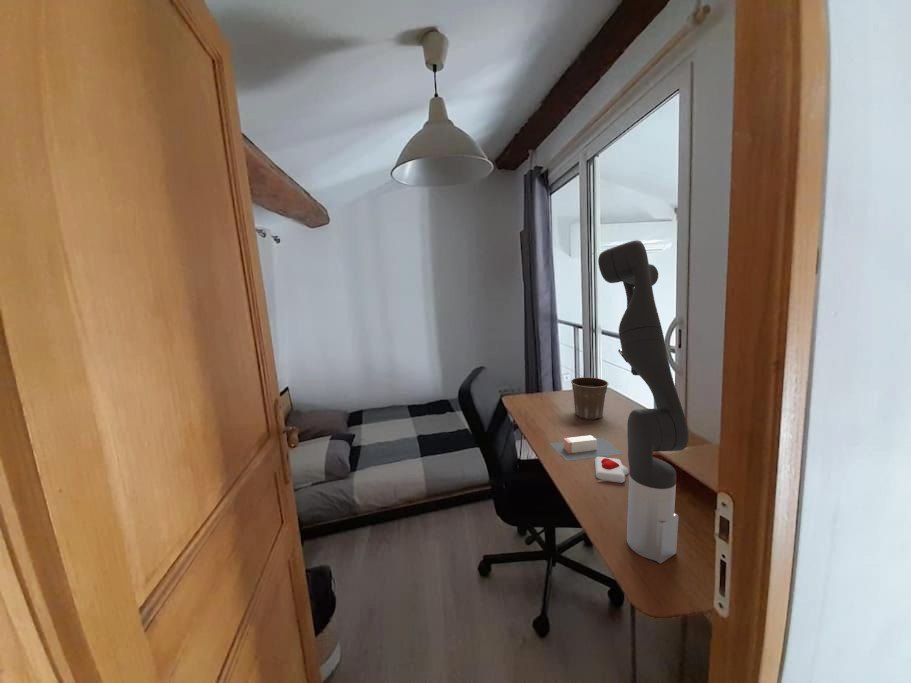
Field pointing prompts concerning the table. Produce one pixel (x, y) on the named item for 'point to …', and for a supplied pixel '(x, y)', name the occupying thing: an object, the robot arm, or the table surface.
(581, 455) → the grey rectangular mat
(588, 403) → the plant pot
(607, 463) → the icon
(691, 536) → the table surface
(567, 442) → the cream block
